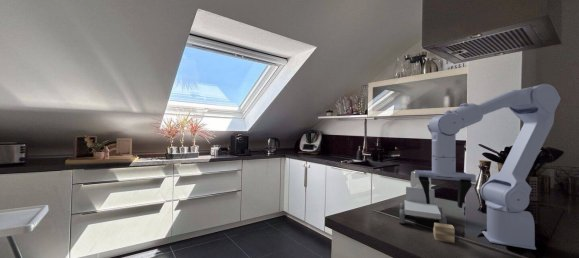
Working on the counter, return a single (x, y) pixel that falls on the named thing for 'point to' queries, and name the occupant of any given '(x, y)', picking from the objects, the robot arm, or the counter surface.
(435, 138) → the robot arm
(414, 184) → the beer glass
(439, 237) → the block
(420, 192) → the trolley
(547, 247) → the counter surface
